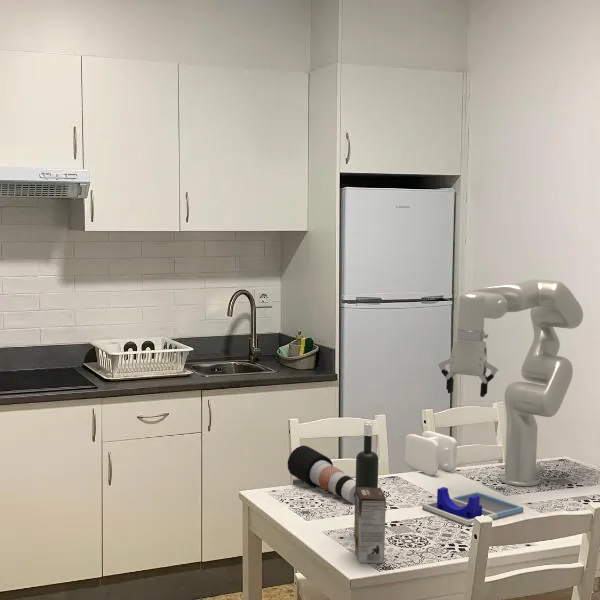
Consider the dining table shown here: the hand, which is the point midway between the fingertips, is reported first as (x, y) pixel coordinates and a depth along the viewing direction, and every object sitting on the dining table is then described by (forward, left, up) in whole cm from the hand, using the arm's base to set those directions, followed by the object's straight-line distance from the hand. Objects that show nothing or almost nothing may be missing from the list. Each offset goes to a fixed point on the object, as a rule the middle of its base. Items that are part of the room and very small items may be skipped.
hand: (466, 394), depth 278 cm
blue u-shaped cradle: (+11, +9, -31) cm, 34 cm away
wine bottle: (+44, +8, -32) cm, 55 cm away
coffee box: (+53, +20, -32) cm, 65 cm away
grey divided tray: (+5, +9, -32) cm, 33 cm away
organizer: (-15, -29, -32) cm, 46 cm away
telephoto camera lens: (+28, -26, -32) cm, 50 cm away
